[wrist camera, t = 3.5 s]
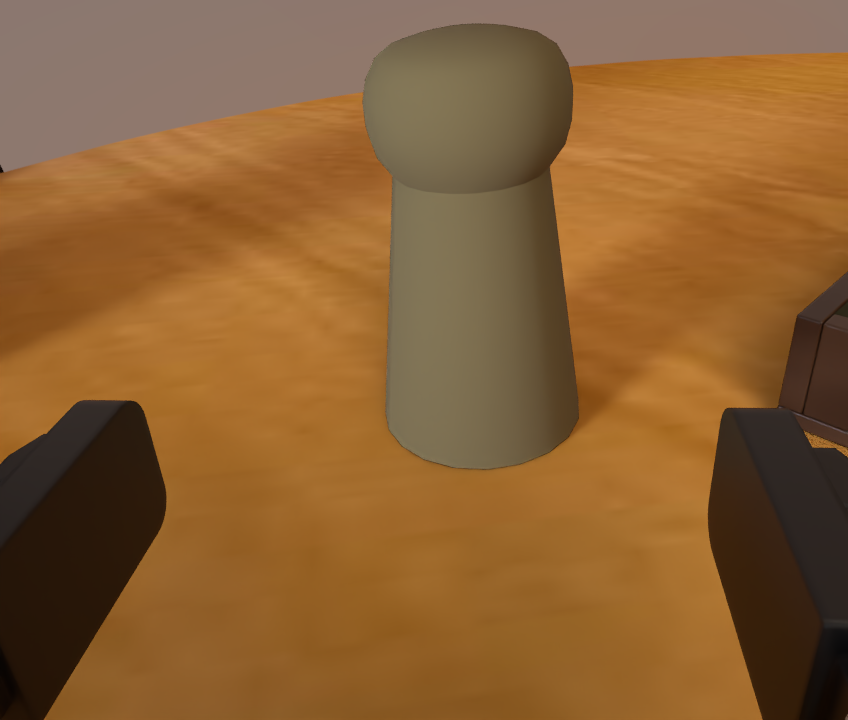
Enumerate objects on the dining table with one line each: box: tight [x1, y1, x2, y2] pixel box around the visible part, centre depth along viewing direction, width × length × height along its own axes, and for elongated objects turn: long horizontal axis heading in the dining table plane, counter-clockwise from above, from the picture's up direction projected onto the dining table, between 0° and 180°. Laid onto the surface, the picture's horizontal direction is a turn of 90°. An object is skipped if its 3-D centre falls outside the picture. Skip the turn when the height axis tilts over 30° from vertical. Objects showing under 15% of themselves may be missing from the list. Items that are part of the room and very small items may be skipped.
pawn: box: [363, 24, 579, 469], centre depth 21 cm, size 6×6×11 cm
